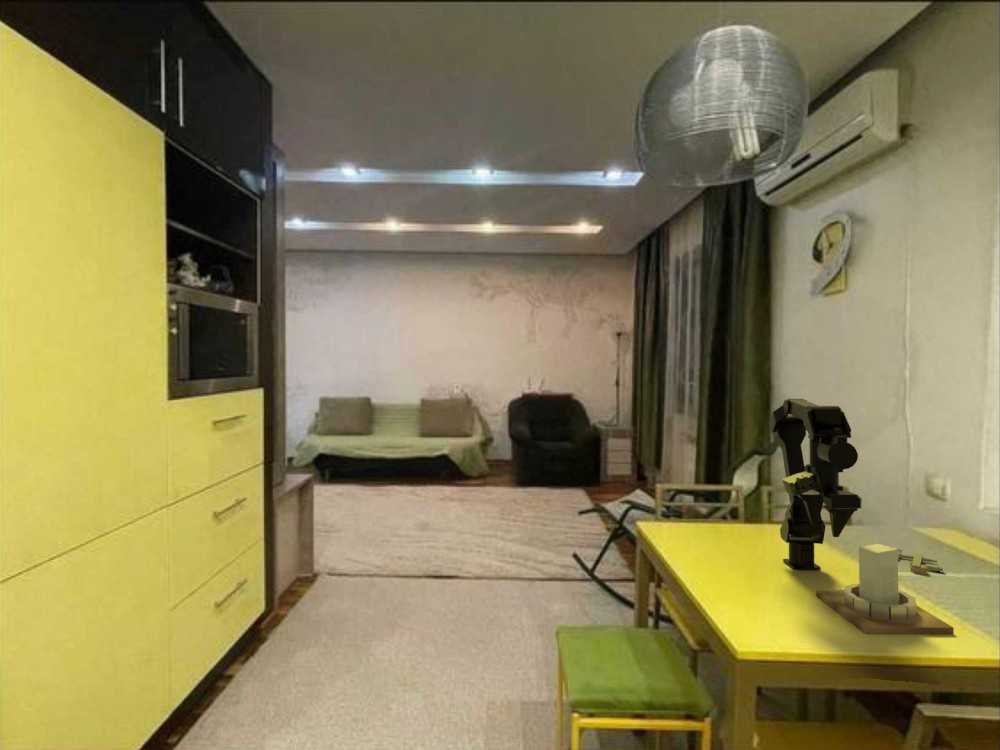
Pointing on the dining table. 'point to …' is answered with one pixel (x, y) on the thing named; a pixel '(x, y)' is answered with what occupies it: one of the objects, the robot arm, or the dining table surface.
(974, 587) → the dining table surface
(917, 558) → the clamp
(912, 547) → the dining table surface
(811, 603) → the dining table surface
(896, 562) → the skincare box
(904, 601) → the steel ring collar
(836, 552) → the dining table surface
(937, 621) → the walnut fitting board
